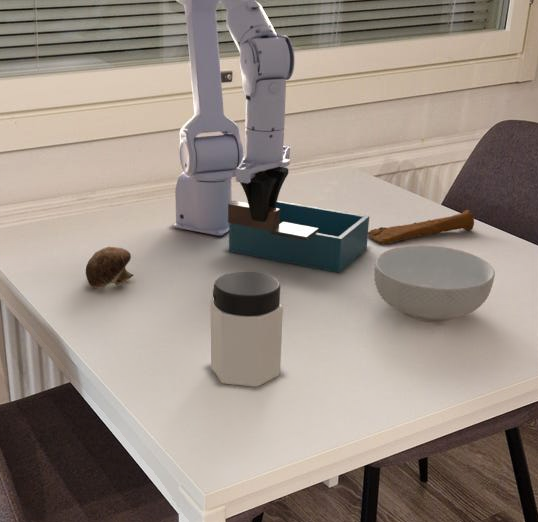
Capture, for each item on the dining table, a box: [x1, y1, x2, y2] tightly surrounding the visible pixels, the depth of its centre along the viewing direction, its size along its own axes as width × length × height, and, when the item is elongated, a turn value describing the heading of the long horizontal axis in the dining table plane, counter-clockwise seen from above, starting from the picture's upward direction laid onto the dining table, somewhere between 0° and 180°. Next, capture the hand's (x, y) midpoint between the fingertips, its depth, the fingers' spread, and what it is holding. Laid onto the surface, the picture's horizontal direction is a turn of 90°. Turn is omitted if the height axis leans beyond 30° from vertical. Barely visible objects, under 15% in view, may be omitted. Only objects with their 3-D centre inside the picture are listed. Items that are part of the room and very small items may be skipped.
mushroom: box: [85, 246, 134, 289], centre depth 144 cm, size 8×8×6 cm
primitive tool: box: [368, 209, 475, 245], centre depth 167 cm, size 19×6×4 cm, turn 112°
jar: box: [210, 270, 284, 388], centre depth 119 cm, size 9×8×12 cm
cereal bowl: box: [373, 244, 496, 323], centre depth 138 cm, size 17×17×7 cm
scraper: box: [228, 200, 319, 241], centre depth 147 cm, size 14×5×3 cm, turn 64°
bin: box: [228, 200, 370, 273], centre depth 159 cm, size 20×13×6 cm, turn 64°
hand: (262, 218), depth 148 cm, fingers closed on scraper, 2 cm apart
